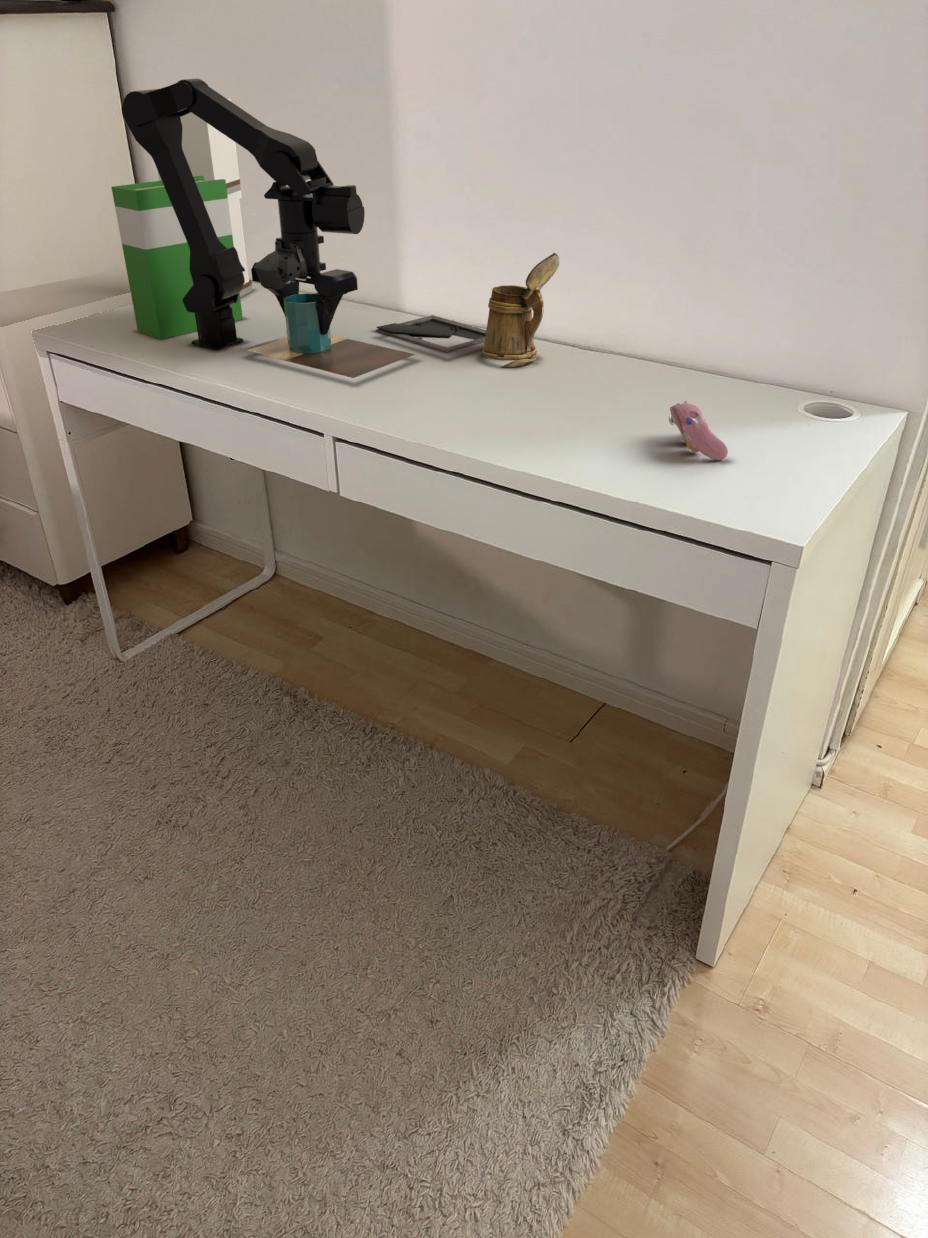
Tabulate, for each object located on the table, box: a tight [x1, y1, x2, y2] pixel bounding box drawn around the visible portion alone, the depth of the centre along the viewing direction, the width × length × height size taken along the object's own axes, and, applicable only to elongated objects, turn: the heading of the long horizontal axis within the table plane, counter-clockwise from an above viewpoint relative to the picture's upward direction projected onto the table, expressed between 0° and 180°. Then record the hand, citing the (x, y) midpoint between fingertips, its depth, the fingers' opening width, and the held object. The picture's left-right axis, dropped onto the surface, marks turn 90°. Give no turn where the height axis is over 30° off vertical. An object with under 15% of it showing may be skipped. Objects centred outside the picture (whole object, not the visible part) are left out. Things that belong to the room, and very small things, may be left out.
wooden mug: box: [481, 252, 560, 368], centre depth 150 cm, size 9×14×18 cm, turn 44°
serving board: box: [245, 334, 416, 379], centre depth 156 cm, size 24×15×1 cm, turn 53°
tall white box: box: [157, 97, 254, 298], centre depth 184 cm, size 11×11×35 cm
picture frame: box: [376, 314, 486, 354], centre depth 165 cm, size 13×2×18 cm
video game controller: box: [668, 400, 729, 461], centre depth 123 cm, size 10×5×7 cm, turn 5°
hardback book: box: [111, 176, 244, 340], centre depth 168 cm, size 18×7×24 cm, turn 138°
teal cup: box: [284, 292, 332, 353], centre depth 156 cm, size 7×7×8 cm
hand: (308, 330), depth 157 cm, fingers closed on teal cup, 7 cm apart
